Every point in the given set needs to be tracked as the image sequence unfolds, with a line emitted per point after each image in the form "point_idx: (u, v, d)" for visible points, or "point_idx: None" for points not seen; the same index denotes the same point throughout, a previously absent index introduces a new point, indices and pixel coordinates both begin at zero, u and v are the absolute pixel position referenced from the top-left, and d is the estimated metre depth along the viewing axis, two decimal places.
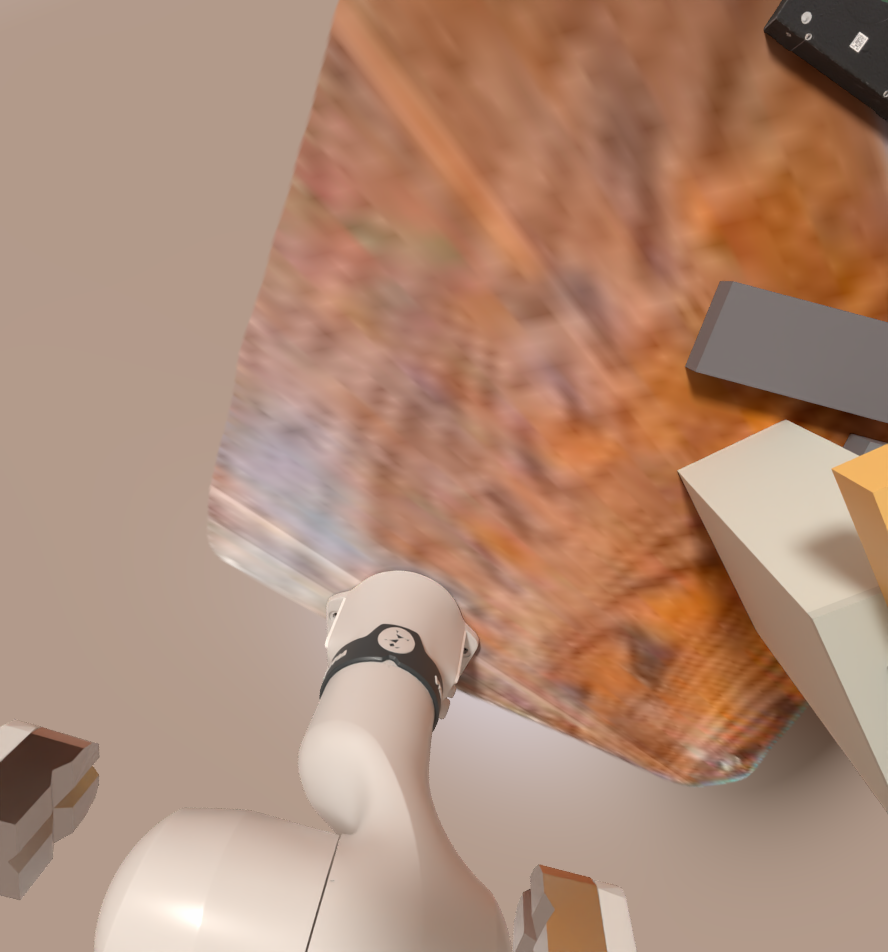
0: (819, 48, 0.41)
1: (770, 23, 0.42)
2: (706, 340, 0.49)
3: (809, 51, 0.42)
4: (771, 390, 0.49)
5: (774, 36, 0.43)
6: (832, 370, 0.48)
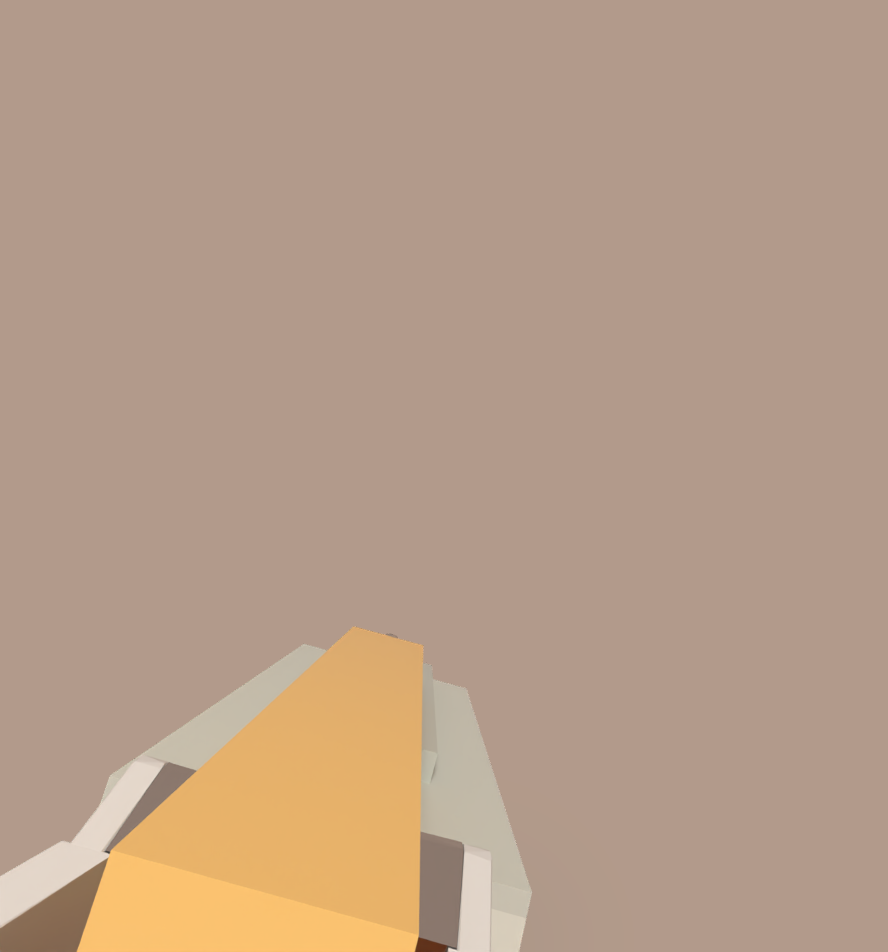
0: None
1: None
2: None
3: None
4: None
5: None
6: None
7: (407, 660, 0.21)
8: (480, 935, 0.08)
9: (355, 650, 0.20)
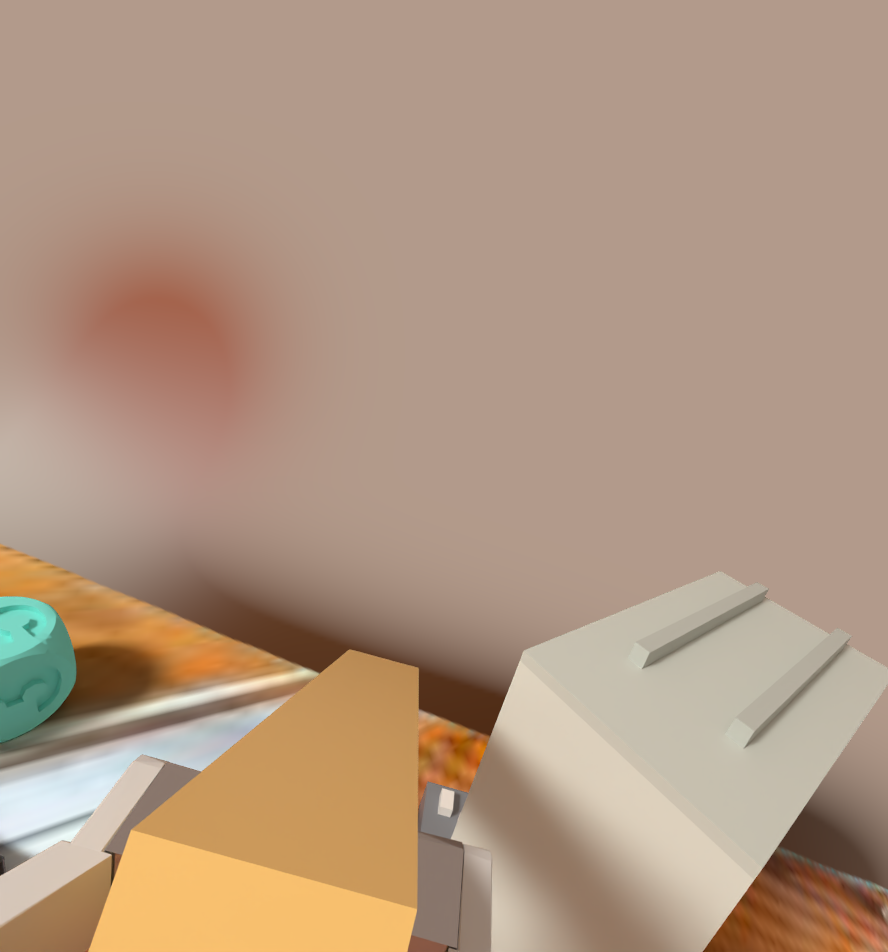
0: None
1: None
2: None
3: None
4: None
5: None
6: None
7: (403, 681, 0.21)
8: (480, 935, 0.08)
9: (352, 670, 0.20)
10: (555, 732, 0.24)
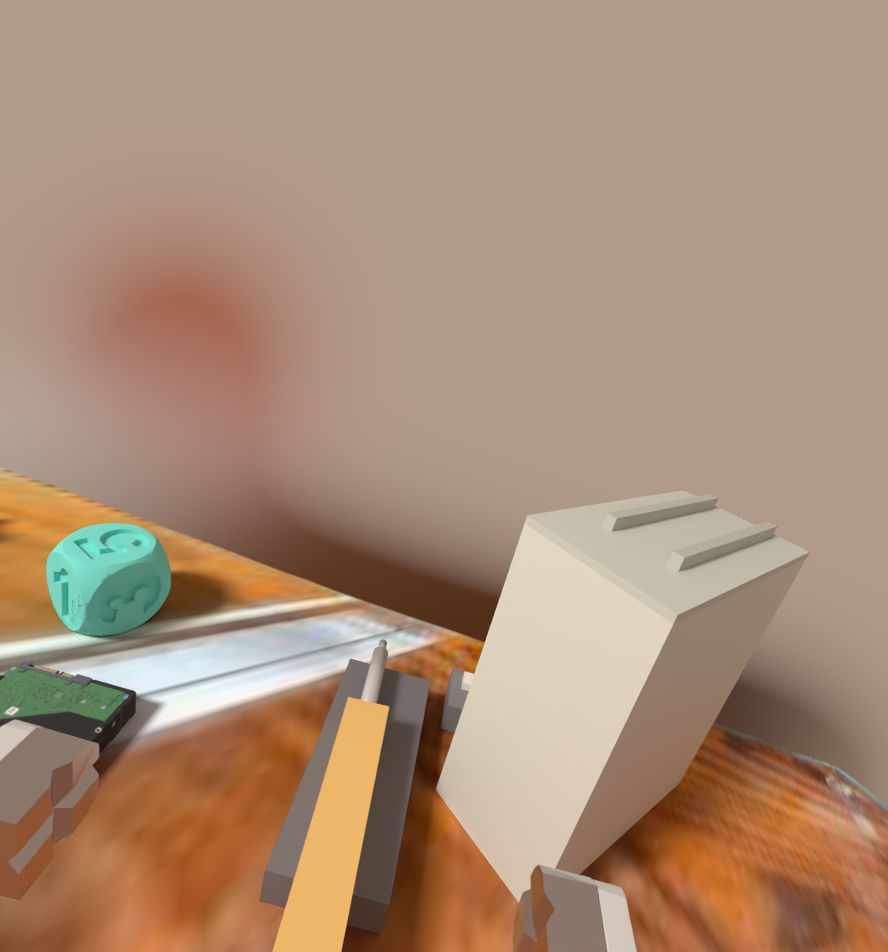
0: None
1: None
2: None
3: None
4: (406, 801, 0.40)
5: None
6: None
7: (371, 755, 0.39)
8: None
9: (342, 758, 0.38)
10: (550, 567, 0.34)
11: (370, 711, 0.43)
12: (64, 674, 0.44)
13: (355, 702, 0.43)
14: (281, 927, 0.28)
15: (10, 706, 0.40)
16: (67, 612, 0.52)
